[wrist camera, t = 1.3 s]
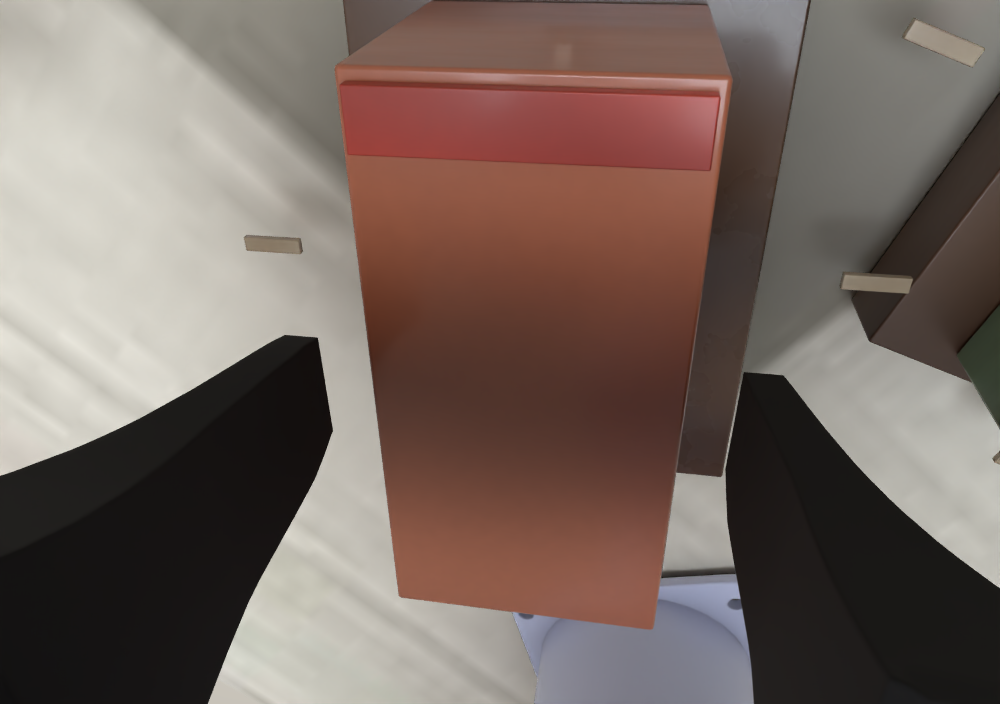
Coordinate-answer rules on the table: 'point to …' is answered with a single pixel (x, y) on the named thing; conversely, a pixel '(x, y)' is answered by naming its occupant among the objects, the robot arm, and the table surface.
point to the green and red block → (985, 363)
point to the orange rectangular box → (534, 289)
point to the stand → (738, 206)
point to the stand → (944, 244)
